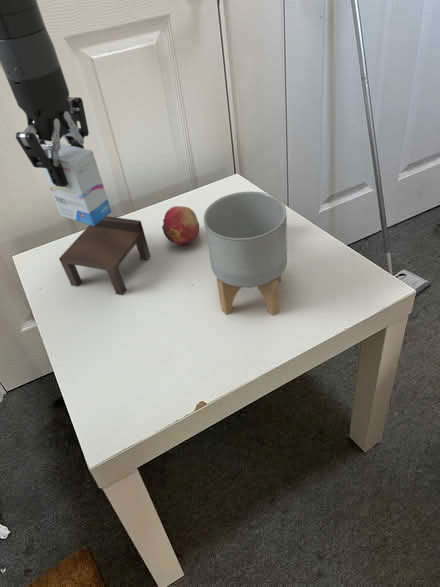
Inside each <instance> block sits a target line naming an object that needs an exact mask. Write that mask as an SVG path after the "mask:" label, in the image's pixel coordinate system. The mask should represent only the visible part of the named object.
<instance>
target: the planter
mask: <svg viewBox="0 0 440 587" xmlns="http://www.w3.org/2000/svg"><path fill="white" fill-rule="evenodd" d="M203 224H204V232H205V236H206V243H207V248H208V254H209V260H210V267H211V271H212V273H213V274H214V276H215V277H216V283H217V290H218V296H219V304H220V308H221V309H220V310H221V312H222V313H224V314H225V315H228V314H230V313H232V312H233V304H234V300H235V298H236V296H237V294H238V292H239V291H240V289H241V288H256V287H257V289H258V290H259V292H260V293H261V295H262V297H263V299H264V301H265V304H266V307H267V313H269V314H270V315H271V316H274V315H276V314H277V313H279V312H280V302H279V301H280V298H279V282H280V281H281V280H282V274H283V273H284V271H285V270H286V267H287V264H288V238H287V237H288V233H287V232H288V230H287V228H288V227H287V208H286V205H285V204H284V203H283V202H282V200H280V198H278V197H276V196H274V195H272V194H269V193H266V192H261V191H239V192H233V193H230V194H227V195H224V196H222V197H220V198H218V199H216V200H215V201H213V202H212V203H211V204H210V205H209V206H208V207H207V208H206V210H205V211H204V214H203Z"/></svg>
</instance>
